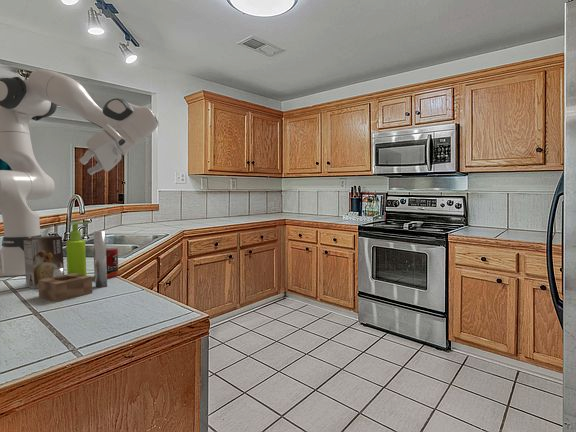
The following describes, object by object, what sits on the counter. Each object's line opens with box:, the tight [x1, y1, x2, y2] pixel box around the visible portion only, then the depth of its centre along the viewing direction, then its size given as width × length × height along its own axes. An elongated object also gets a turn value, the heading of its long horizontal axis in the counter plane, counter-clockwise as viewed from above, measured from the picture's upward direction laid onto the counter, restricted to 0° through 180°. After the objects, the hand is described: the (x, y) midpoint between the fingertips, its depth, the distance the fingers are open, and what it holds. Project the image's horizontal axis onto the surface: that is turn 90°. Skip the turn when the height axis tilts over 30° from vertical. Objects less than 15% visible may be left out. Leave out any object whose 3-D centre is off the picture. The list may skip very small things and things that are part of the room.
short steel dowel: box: [52, 267, 65, 277], centre depth 113 cm, size 3×3×6 cm
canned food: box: [93, 245, 119, 280], centre depth 126 cm, size 8×8×11 cm
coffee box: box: [23, 235, 65, 290], centre depth 114 cm, size 9×6×16 cm
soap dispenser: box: [65, 221, 88, 276], centre depth 126 cm, size 6×7×20 cm
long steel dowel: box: [93, 230, 108, 288], centre depth 112 cm, size 3×3×18 cm
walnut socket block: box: [38, 273, 93, 302], centre depth 103 cm, size 10×10×5 cm
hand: (85, 168), depth 114 cm, fingers open, 8 cm apart
